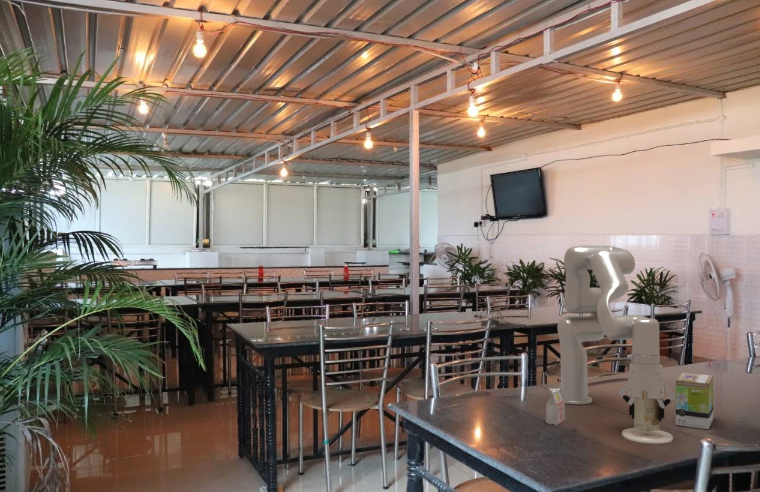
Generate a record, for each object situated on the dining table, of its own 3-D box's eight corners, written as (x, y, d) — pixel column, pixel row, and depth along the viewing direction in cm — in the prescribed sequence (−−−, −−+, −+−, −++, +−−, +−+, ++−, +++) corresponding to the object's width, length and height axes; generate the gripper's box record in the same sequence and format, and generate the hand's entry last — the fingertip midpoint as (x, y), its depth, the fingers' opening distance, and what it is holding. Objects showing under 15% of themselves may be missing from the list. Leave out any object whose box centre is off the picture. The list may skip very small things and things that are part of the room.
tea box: (710, 430, 194) (709, 382, 194) (674, 425, 199) (674, 379, 199) (714, 419, 207) (713, 374, 207) (680, 415, 212) (679, 371, 212)
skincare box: (645, 433, 184) (645, 391, 184) (633, 429, 188) (632, 388, 188) (660, 430, 187) (659, 389, 187) (648, 426, 191) (647, 386, 191)
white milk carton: (546, 423, 203) (545, 392, 203) (554, 419, 209) (553, 388, 209) (557, 425, 201) (556, 394, 201) (564, 420, 206) (564, 390, 206)
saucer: (620, 440, 184) (619, 437, 184) (624, 428, 196) (624, 425, 196) (672, 446, 178) (672, 443, 178) (673, 433, 190) (673, 430, 190)
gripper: (613, 359, 188) (614, 419, 188) (677, 363, 180) (678, 425, 180) (616, 355, 195) (617, 413, 194) (678, 359, 187) (679, 419, 187)
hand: (646, 418), depth 187 cm, fingers closed on skincare box, 6 cm apart
